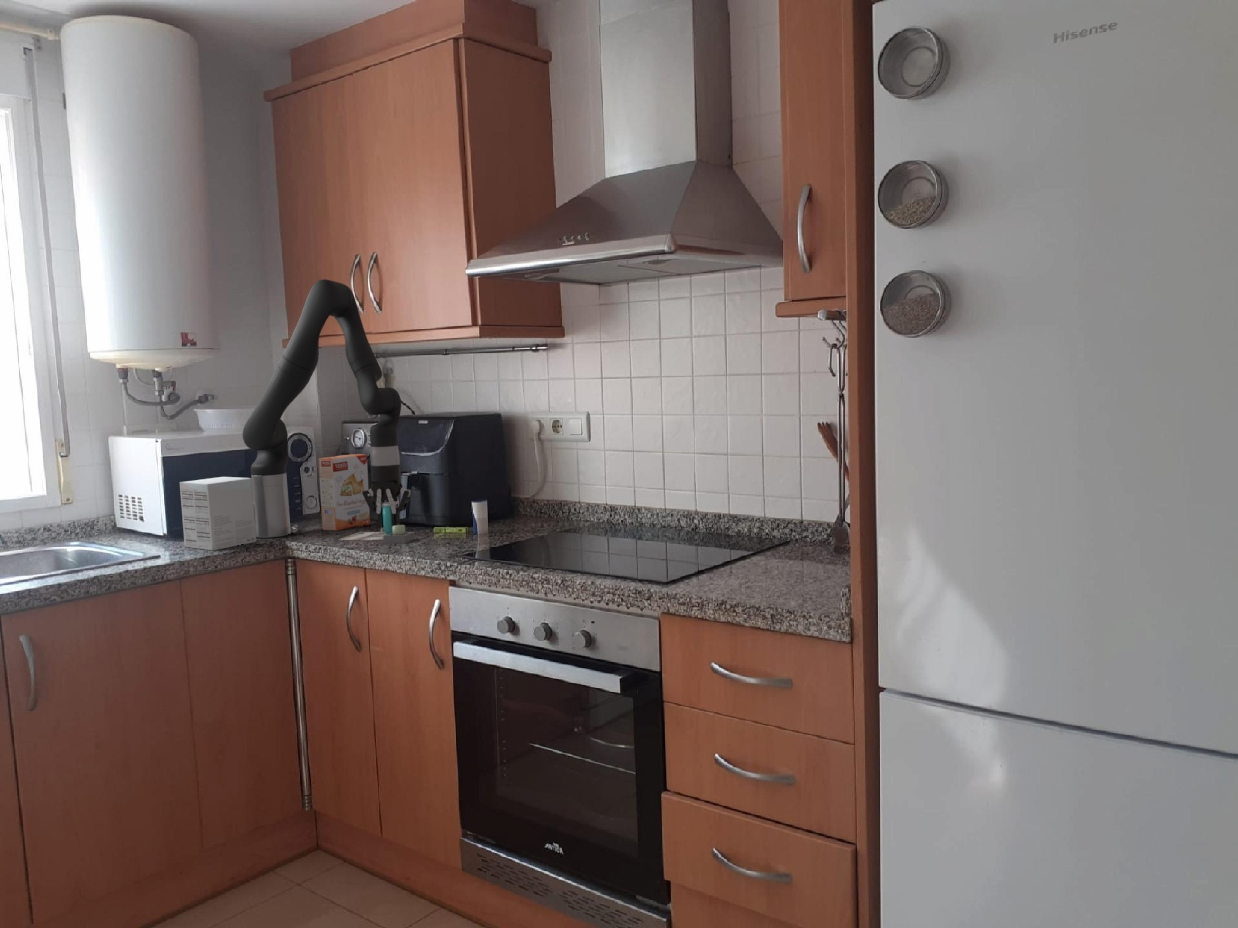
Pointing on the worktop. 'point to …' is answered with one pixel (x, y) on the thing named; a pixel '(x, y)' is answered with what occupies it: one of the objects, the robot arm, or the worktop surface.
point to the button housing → (399, 538)
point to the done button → (398, 529)
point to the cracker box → (343, 491)
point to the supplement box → (217, 512)
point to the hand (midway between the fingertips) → (389, 526)
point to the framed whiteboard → (365, 536)
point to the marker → (387, 517)
